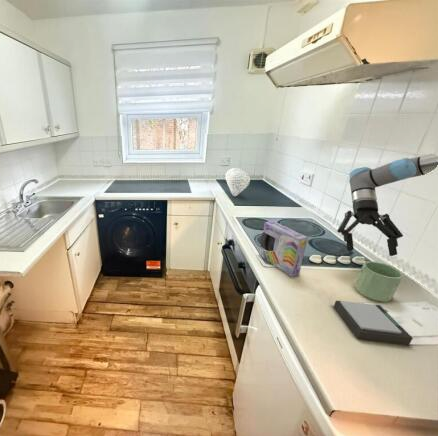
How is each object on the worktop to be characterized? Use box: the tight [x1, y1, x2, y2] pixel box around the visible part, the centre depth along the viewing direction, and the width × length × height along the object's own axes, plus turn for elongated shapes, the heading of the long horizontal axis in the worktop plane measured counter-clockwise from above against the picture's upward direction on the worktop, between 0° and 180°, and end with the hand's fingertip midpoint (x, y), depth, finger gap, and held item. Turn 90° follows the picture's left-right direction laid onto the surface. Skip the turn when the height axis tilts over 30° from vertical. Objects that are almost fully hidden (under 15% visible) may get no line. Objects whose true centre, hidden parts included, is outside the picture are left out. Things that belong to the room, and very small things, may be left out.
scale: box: [333, 300, 414, 347], centre depth 74 cm, size 13×13×4 cm
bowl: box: [354, 260, 404, 303], centre depth 86 cm, size 10×10×10 cm
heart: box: [224, 167, 251, 197], centre depth 194 cm, size 28×16×22 cm, turn 175°
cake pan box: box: [259, 220, 308, 277], centre depth 102 cm, size 19×5×18 cm, turn 18°
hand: (371, 252), depth 90 cm, fingers open, 13 cm apart
